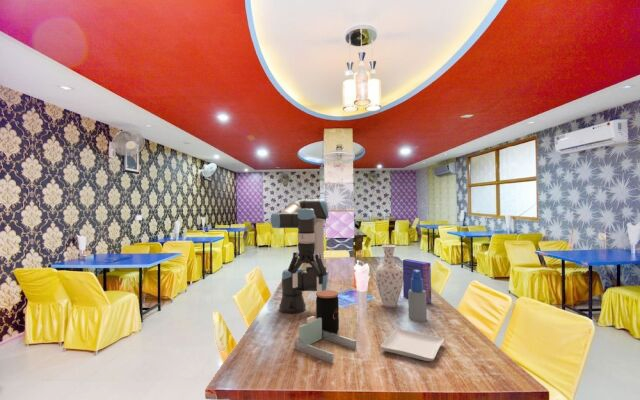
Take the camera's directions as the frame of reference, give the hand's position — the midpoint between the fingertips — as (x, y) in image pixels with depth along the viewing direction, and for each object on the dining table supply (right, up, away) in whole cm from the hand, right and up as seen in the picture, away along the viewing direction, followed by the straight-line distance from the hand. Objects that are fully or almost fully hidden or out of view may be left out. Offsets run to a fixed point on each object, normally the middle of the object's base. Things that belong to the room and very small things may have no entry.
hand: (306, 289), depth 145 cm
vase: (+47, -22, +44) cm, 68 cm away
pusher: (+2, -21, -7) cm, 22 cm away
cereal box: (+66, -22, +54) cm, 88 cm away
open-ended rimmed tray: (+8, -21, -13) cm, 26 cm away
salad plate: (+44, -21, -13) cm, 51 cm away
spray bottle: (+57, -21, +21) cm, 64 cm away
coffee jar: (+10, -22, +6) cm, 24 cm away
